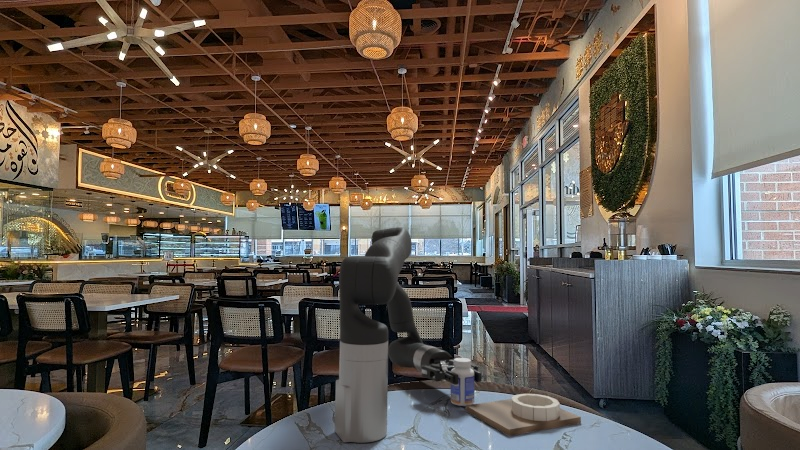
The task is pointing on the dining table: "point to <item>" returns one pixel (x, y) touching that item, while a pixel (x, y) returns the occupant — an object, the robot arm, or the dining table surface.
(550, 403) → the socket sleeve
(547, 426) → the socket board
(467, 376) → the pill bottle
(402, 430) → the dining table surface
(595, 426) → the dining table surface
